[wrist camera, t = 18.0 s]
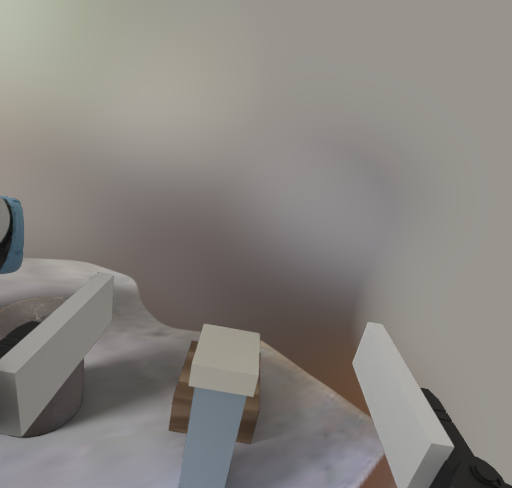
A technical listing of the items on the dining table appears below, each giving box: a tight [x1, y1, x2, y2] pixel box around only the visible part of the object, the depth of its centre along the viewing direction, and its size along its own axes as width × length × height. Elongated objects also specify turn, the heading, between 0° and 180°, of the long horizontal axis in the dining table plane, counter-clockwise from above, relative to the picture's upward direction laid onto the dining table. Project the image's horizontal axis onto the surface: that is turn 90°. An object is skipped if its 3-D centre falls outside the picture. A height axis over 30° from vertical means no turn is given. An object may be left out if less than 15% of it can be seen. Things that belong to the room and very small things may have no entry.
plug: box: [178, 324, 260, 488], centre depth 32 cm, size 6×6×20 cm
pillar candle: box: [0, 297, 84, 438], centre depth 39 cm, size 10×10×15 cm
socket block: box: [169, 341, 260, 444], centre depth 46 cm, size 11×11×6 cm
